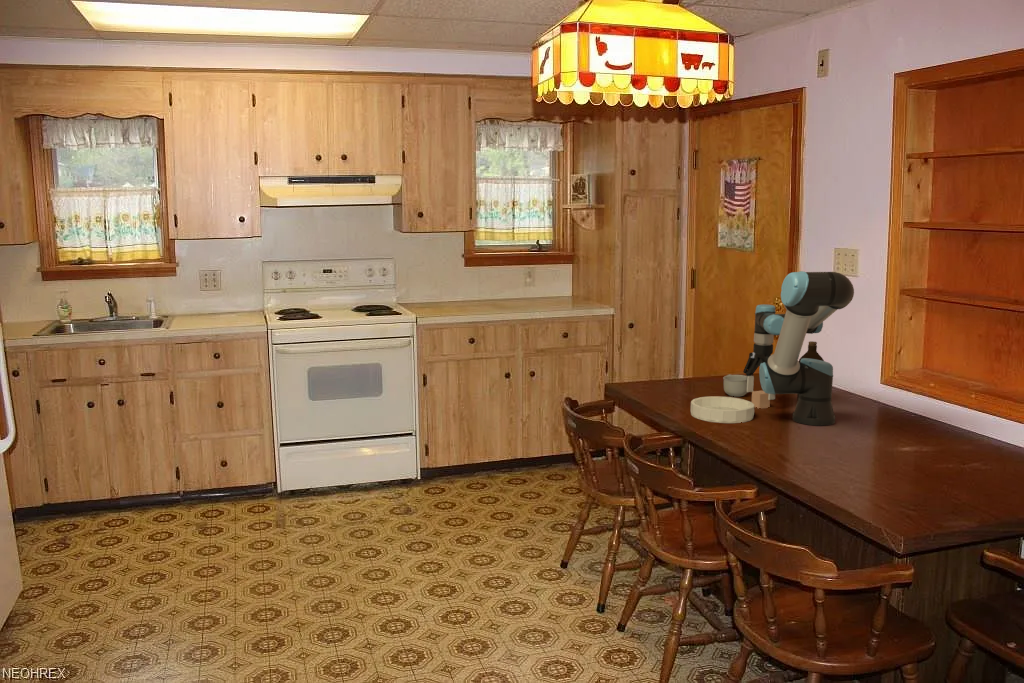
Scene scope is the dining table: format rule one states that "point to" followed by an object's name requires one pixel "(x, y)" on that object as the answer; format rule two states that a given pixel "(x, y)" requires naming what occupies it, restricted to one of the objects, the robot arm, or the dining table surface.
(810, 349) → the olive oil
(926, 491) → the dining table surface
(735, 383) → the teacup
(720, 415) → the bowl
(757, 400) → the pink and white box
